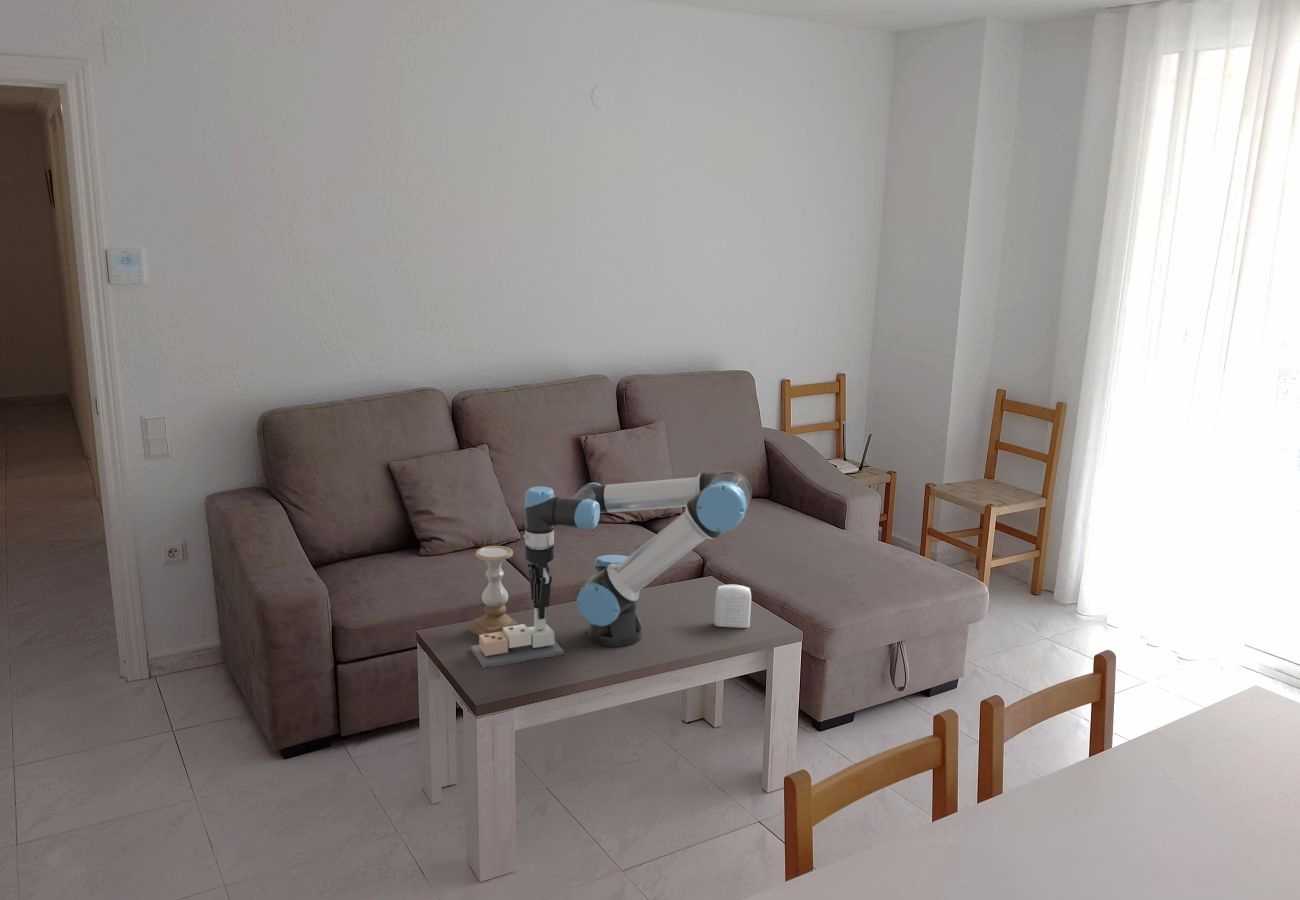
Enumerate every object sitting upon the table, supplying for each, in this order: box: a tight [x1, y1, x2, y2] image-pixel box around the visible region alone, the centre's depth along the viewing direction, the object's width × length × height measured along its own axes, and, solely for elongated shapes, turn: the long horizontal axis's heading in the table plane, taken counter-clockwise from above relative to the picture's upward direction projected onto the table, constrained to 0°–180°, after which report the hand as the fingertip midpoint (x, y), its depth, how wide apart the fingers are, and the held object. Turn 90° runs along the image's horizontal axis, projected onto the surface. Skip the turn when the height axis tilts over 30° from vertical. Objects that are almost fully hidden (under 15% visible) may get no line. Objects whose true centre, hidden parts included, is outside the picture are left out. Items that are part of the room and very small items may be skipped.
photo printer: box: [713, 583, 752, 629], centre depth 293 cm, size 10×4×12 cm, turn 86°
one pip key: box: [526, 623, 555, 648], centre depth 275 cm, size 6×6×4 cm
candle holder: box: [469, 545, 519, 637], centre depth 283 cm, size 11×11×24 cm
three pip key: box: [478, 632, 508, 656], centre depth 270 cm, size 6×6×4 cm
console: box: [470, 639, 565, 669], centre depth 273 cm, size 22×12×4 cm, turn 115°
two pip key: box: [503, 623, 531, 648], centre depth 272 cm, size 6×6×4 cm
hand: (539, 628), depth 275 cm, fingers closed
